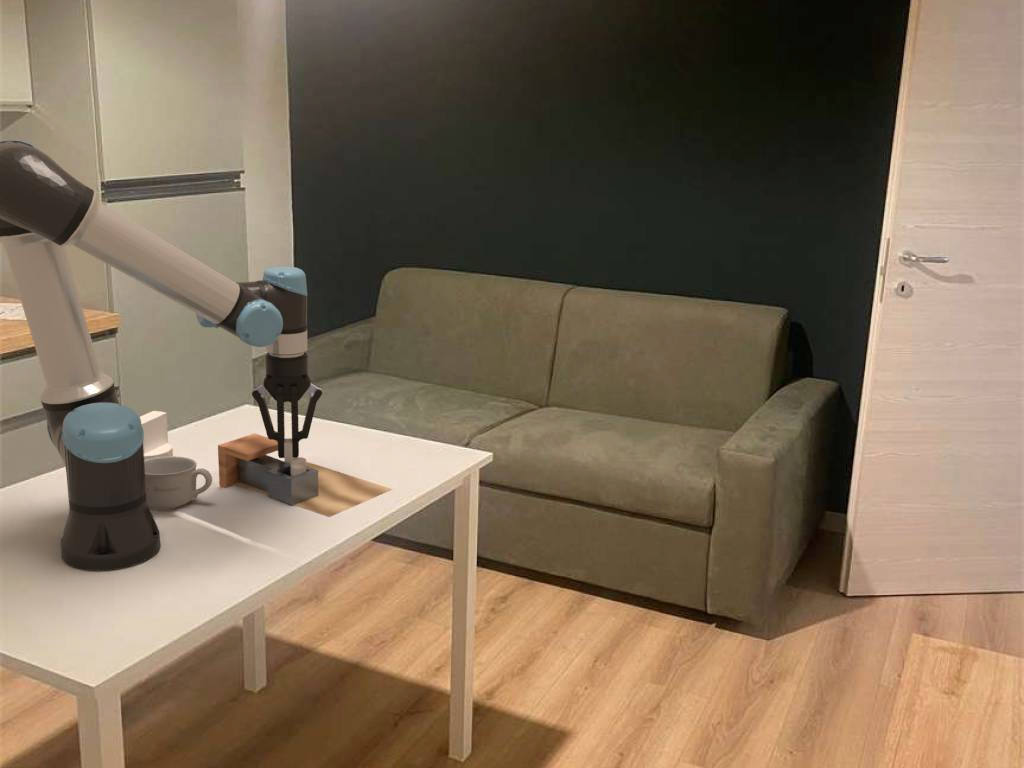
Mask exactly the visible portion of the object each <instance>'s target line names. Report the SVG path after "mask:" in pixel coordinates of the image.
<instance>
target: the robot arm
mask: <svg viewBox="0 0 1024 768" xmlns="http://www.w3.org/2000/svg"><path fill="white" fill-rule="evenodd" d="M0 244H1V245H2V246H3V247H4V250H5V253H6V256H7V260H8V263H9V266H10V270H11V273H12V277H13V279H14V283H15V286H16V289H17V292H18V296H19V299H20V304H21V305H22V308H23V312H24V316H25V318H26V323H27V326H28V329H29V331H30V335H31V339H32V341H33V344H34V349H35V352H36V355H37V358H38V361H39V365H40V369H41V371H42V374H43V378H44V382H45V385H46V386H45V387H44V389H43V390H42V392H41V393H40V396H39V398H40V402H41V405H42V409H43V413H44V415H45V418H46V431H47V433H48V436H49V439H50V441H51V443H52V444H53V446H54V447H55V448H56V450H57V451H58V454H59V456H60V458H61V459H62V461H63V464H64V466H65V473H66V475H65V476H66V485H67V497H68V514H67V517H66V518H67V519H66V522H65V526H64V530H63V534H62V537H61V540H60V555H61V559H62V561H63V562H64V563H65V564H67V565H68V566H71V567H72V568H76V569H80V570H86V571H87V570H88V571H109V570H110V571H111V570H118V569H119V570H120V569H122V568H123V569H124V568H128V567H132V566H135V565H137V564H141V563H143V562H145V561H147V560H149V559H151V558H152V557H154V556H156V554H158V552H159V551H160V548H161V546H162V545H161V544H162V543H161V533H160V529H159V527H158V525H157V523H156V521H155V519H154V516H153V513H152V510H151V509H149V507H148V504H147V500H146V484H145V467H144V450H143V440H144V432H143V428H142V424H141V419H140V417H141V416H140V415H139V413H138V412H136V410H134V409H133V408H131V407H130V406H127V405H121V403H120V401H119V396H118V394H117V390H116V386H115V383H114V380H113V378H112V377H111V376H110V375H107V374H105V373H104V372H102V371H101V368H100V365H99V361H98V358H97V355H96V352H95V348H94V344H93V341H92V340H93V339H92V337H91V333H90V329H89V326H88V323H87V319H86V316H85V312H84V308H83V306H82V305H83V304H82V303H81V299H80V295H79V291H78V288H77V283H76V280H75V277H74V273H73V270H72V267H71V263H70V260H69V256H68V252H67V249H66V246H74V247H76V248H78V249H79V250H81V251H83V252H84V253H86V254H89V255H90V256H91V257H94V258H96V259H98V260H99V261H101V262H103V263H105V264H106V265H108V266H110V267H112V268H114V269H115V270H117V271H118V272H121V273H123V274H124V275H126V276H128V277H130V278H131V279H132V280H135V281H137V282H139V283H141V284H142V285H145V286H146V287H148V288H149V289H152V290H153V291H156V292H157V293H159V294H161V295H162V296H163V297H166V298H168V299H170V300H171V301H173V302H174V303H177V304H179V305H180V306H182V307H183V308H186V309H187V310H189V311H191V312H193V313H195V315H196V319H197V323H199V325H200V326H201V327H203V328H215V329H219V328H221V329H223V330H224V331H226V332H228V333H230V334H231V335H233V336H235V337H237V338H238V339H239V340H240V341H242V342H243V343H245V344H247V345H249V346H252V347H256V348H263V347H265V348H264V350H265V351H266V352H267V353H266V354H265V377H264V380H263V383H262V384H261V385H260V386H258V387H256V386H255V387H253V388H252V392H251V396H252V398H253V399H254V400H255V402H257V405H258V408H259V412H260V415H261V419H262V422H263V426H264V429H265V432H266V437H268V439H270V440H272V439H273V440H276V441H277V442H278V451H277V455H278V459H284V460H283V461H284V462H287V463H291V461H290V460H291V459H292V458H296V457H300V445H299V443H300V441H302V440H304V439H305V440H306V439H308V438H309V435H310V431H311V427H312V423H313V418H314V414H315V411H316V406H317V402H318V401H319V399H320V398H321V397H322V395H323V388H322V387H321V386H316V385H314V384H313V383H312V382H311V378H310V377H309V375H308V374H309V371H308V370H309V365H308V359H309V358H308V357H309V355H308V353H307V351H308V315H307V313H308V287H307V278H306V277H307V276H306V273H305V271H303V269H300V268H299V267H293V266H273V267H268V268H265V269H264V271H263V276H262V280H261V279H260V280H255V281H240V282H239V281H238V282H237V281H236V282H235V281H234V280H233V279H232V280H231V279H230V278H228V277H227V276H226V275H224V274H222V273H220V272H218V271H217V270H215V269H213V268H211V267H210V266H208V265H207V264H205V263H203V262H202V261H200V260H198V259H197V258H195V257H193V256H191V255H189V254H188V253H187V252H184V251H183V250H181V249H180V248H178V247H176V246H175V245H173V244H171V243H170V242H167V240H164V239H163V238H162V237H160V236H158V235H156V234H155V233H153V232H152V231H149V230H148V229H146V228H145V227H142V226H141V225H139V224H138V223H136V222H134V221H133V220H131V219H129V218H128V217H126V216H124V215H123V214H121V213H119V212H117V211H116V210H115V209H112V208H111V207H109V206H107V205H105V204H104V203H102V202H101V201H100V200H99V199H98V195H97V193H96V191H95V190H94V189H92V188H91V187H88V186H87V185H85V184H84V183H83V182H81V181H79V180H78V179H76V178H75V177H74V176H73V175H72V174H70V173H68V172H67V171H66V170H65V169H64V168H63V167H61V166H60V165H59V164H58V163H57V162H55V160H54V159H52V158H51V157H50V155H48V154H46V153H44V152H43V151H41V150H40V149H39V148H38V147H36V146H34V145H33V144H31V143H29V142H26V141H22V140H17V139H12V140H11V139H10V140H0ZM307 391H308V396H309V401H308V405H307V409H306V412H305V417H304V420H303V421H304V422H303V425H302V429H301V430H300V431H299V429H300V428H299V401H300V400H301V399H302V398H303V396H304V395H305V394H306V392H307ZM267 392H268V393H269V395H270V396H271V397H272V398H273V400H275V401H276V413H277V414H276V417H277V418H276V421H277V422H276V423H277V426H276V427H277V431H275V428H274V424H273V421H272V418H271V414H270V410H269V407H268V404H267V399H266V398H265V397H266V395H267ZM286 402H287V403H288V402H289V403H290V409H291V437H290V438H289V437H288V438H285V437H286V436H285V433H286V431H285V403H286Z"/></svg>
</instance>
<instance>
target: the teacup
mask: <svg viewBox="0 0 1024 768" xmlns="http://www.w3.org/2000/svg"><path fill="white" fill-rule="evenodd" d="M144 467H145V484H146V500H147V504H148V507H149V509H150V511H156V512H170V511H176V508H179V507H182V506H184V505H187V504H189V502H191V501H192V500H195V499H197V497H198V496H199V495H201V494H202V493H204V492H205V491H207V490H208V489H209V488H210V487H211V486H212V483H213V476H212V475H211V473H210V471H208V470H207V469H205V468H197V461H195V460H194V459H192V458H189V457H185V456H175V455H173V456H169V457H156V458H151V459H146V460H144ZM199 475H201V476H203V477H204V479H205V483H204V485H202V487H200V488H197V477H198V476H199Z"/></svg>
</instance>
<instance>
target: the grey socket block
mask: <svg viewBox="0 0 1024 768" xmlns="http://www.w3.org/2000/svg"><path fill="white" fill-rule="evenodd" d="M238 462H239V481H240V482H243V483H245V484H248V485H251V486H253V487H256V488H258V489H261V490H263V491H266V492H268V495H267V497H269V498H271V499H274V500H276V501H279V502H282V503H284V504H286V505H289V506H296V505H295V504H298V503H300V502H303V501H306V500H309V499H311V498H314V497H317V496H318V470H316V469H313V468H310V467H307V466H306V472H304V473H302V474H299V475H296V476H293V477H291V463H287V462H285V460H281V459H280V458H276V457H273V456H271V455H269V454H266V455H263V456H261V457H258V458H255V459H252V460H249V461H246V460H243V459H240V458H238Z"/></svg>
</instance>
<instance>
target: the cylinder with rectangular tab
mask: <svg viewBox="0 0 1024 768" xmlns="http://www.w3.org/2000/svg"><path fill="white" fill-rule="evenodd" d="M167 415H168V414H167V412H165V411H160V410H159V411H158V410H152V411H150V412H147V413H145V414H143V415H141V416H139V417H140V419H141V424H142V428H143V432H144V440H143V450H144V460H146V459H151V458H156V457H169V456H174V454H173V453H174V451H173V448H174V447H173V444H171V442H169V434H168V416H167Z"/></svg>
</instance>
